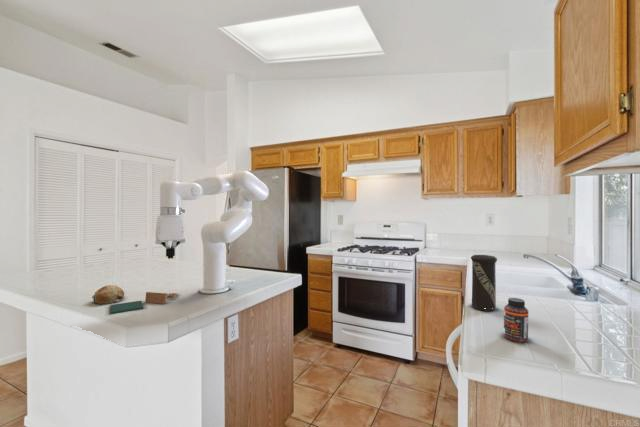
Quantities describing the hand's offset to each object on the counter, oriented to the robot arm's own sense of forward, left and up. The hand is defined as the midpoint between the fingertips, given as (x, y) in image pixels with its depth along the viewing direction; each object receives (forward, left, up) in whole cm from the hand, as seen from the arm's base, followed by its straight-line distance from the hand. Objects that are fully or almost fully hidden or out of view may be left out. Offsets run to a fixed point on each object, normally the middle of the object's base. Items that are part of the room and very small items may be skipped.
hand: (170, 258), depth 121 cm
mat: (+15, -1, -18) cm, 23 cm away
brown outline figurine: (+5, -2, -16) cm, 16 cm away
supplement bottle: (-77, +93, -18) cm, 122 cm away
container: (-97, +73, -18) cm, 123 cm away
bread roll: (+21, -15, -18) cm, 31 cm away
